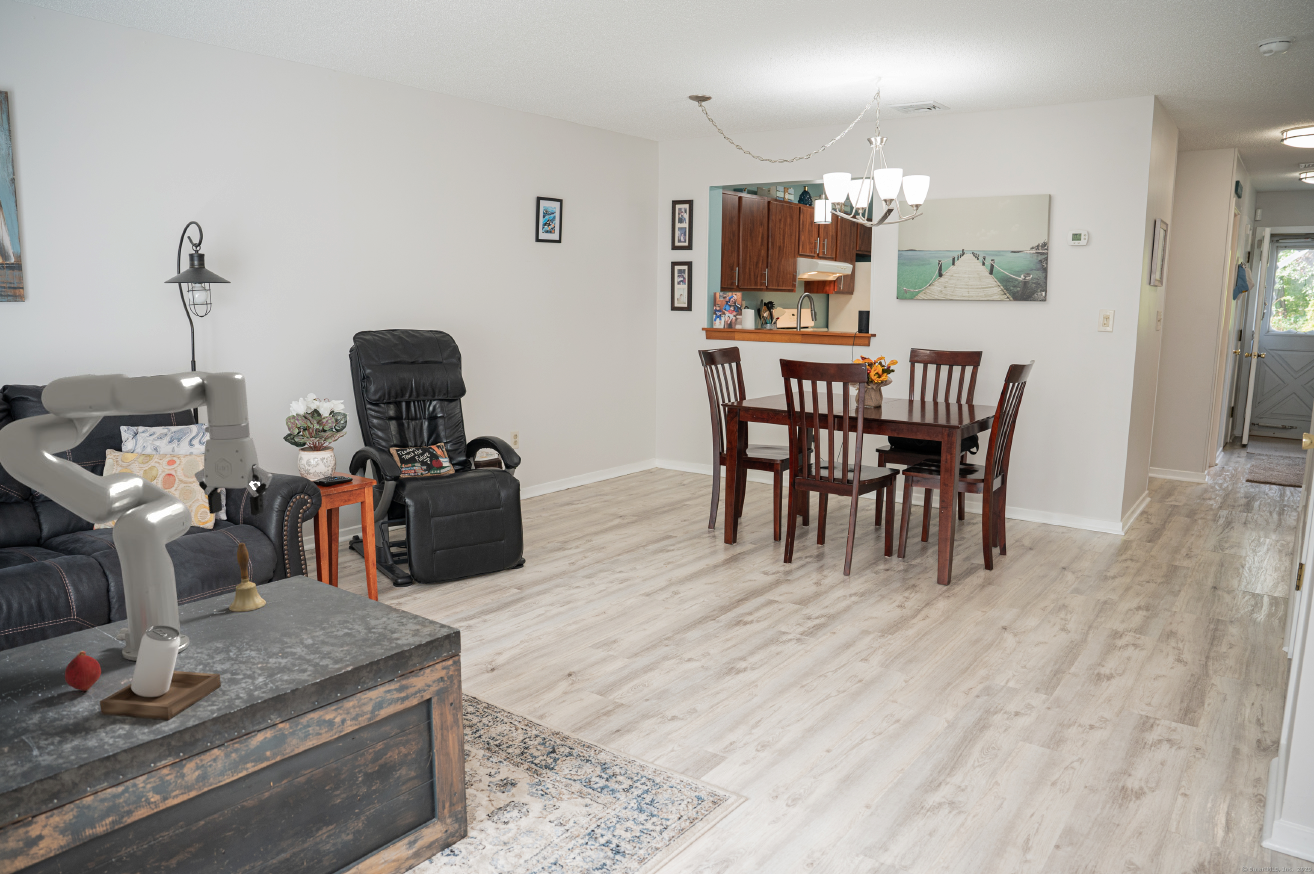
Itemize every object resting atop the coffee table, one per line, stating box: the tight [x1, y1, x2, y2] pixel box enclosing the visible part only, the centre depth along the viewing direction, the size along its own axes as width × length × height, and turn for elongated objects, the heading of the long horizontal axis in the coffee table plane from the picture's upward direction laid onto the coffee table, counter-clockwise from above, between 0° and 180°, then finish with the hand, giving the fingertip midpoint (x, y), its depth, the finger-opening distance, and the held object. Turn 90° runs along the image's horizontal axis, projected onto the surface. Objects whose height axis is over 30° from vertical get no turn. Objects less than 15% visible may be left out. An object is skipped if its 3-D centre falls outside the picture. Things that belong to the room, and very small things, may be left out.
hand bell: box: [228, 542, 267, 613], centre depth 215 cm, size 8×8×16 cm
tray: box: [99, 670, 222, 721], centre depth 165 cm, size 14×14×2 cm
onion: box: [64, 650, 102, 692], centre depth 169 cm, size 6×6×8 cm
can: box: [130, 625, 181, 698], centre depth 165 cm, size 6×6×12 cm
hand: (236, 513), depth 184 cm, fingers open, 9 cm apart
